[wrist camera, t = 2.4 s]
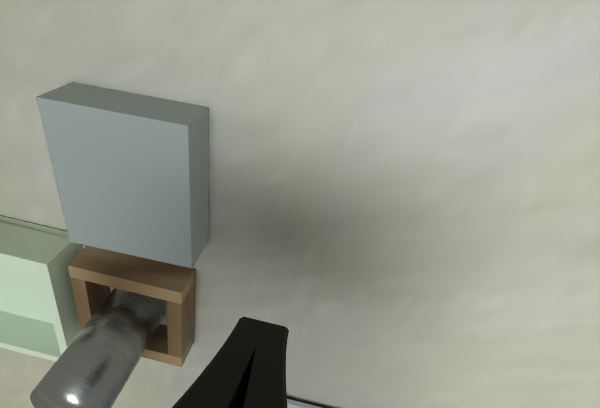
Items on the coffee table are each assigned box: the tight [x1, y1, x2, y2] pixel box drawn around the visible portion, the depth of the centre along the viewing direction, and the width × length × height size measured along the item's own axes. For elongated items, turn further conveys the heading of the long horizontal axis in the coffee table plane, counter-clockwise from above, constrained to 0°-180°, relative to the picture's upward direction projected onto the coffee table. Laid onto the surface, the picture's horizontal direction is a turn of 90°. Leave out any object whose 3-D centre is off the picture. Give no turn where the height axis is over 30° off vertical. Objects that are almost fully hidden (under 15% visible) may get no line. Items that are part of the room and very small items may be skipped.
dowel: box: [30, 288, 167, 408], centre depth 20 cm, size 3×3×7 cm
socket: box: [68, 246, 196, 367], centre depth 22 cm, size 6×6×2 cm
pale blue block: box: [36, 82, 209, 268], centre depth 18 cm, size 6×7×2 cm
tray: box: [0, 216, 82, 362], centre depth 23 cm, size 8×8×2 cm
